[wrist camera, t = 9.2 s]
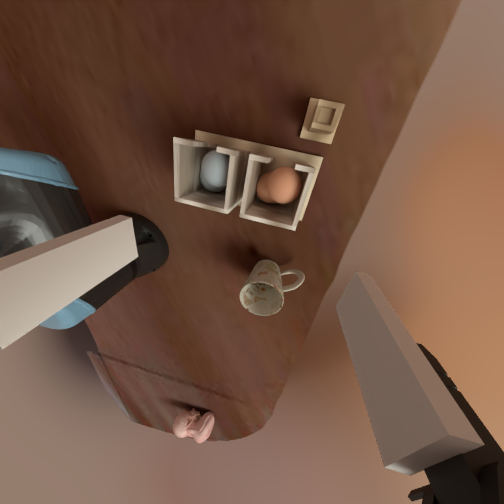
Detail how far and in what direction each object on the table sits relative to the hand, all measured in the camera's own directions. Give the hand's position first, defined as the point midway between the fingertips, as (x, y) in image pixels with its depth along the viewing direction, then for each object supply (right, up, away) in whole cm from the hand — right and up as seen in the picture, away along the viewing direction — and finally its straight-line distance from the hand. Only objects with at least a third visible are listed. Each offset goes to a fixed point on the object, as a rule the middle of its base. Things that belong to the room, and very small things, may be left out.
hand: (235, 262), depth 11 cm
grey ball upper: (-5, +14, +19) cm, 23 cm away
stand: (+12, +21, +17) cm, 29 cm away
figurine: (-25, -76, +77) cm, 111 cm away
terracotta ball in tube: (+5, +13, +22) cm, 26 cm away
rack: (+1, +14, +23) cm, 27 cm away
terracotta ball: (+4, +10, +17) cm, 21 cm away
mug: (+6, -3, +31) cm, 32 cm away
